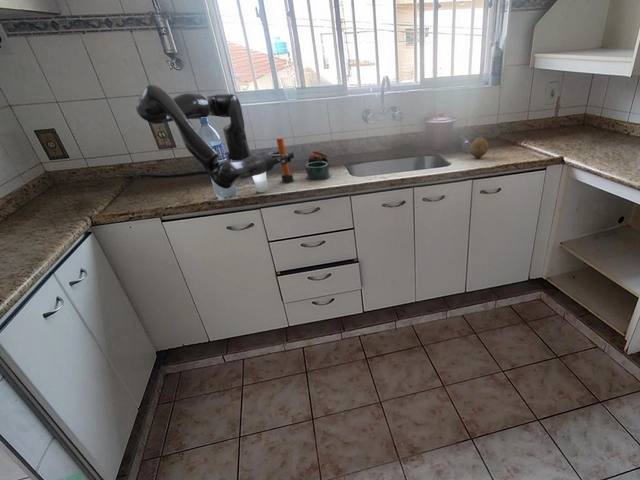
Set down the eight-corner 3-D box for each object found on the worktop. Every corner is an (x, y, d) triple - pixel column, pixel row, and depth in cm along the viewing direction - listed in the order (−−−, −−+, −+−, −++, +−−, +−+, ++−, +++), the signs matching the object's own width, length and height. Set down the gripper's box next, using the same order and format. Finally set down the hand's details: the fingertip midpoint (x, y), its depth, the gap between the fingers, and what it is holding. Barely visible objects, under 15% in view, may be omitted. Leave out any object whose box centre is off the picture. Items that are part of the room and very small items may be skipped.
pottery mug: (305, 167, 191) (309, 150, 190) (323, 173, 195) (327, 157, 194) (309, 166, 180) (314, 148, 179) (328, 173, 185) (333, 156, 183)
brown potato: (488, 160, 189) (490, 139, 183) (470, 161, 189) (472, 139, 184) (485, 156, 197) (487, 135, 191) (468, 156, 197) (469, 135, 191)
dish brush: (280, 182, 169) (271, 139, 159) (284, 179, 173) (276, 137, 163) (291, 182, 168) (282, 139, 158) (295, 179, 172) (287, 137, 162)
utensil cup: (304, 179, 172) (302, 167, 168) (311, 173, 180) (309, 161, 176) (325, 180, 170) (324, 167, 167) (332, 173, 178) (330, 161, 175)
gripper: (248, 171, 159) (275, 161, 171) (274, 175, 153) (301, 164, 165) (243, 152, 155) (272, 144, 167) (270, 155, 149) (298, 146, 161)
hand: (286, 154), depth 166 cm, fingers open, 6 cm apart
